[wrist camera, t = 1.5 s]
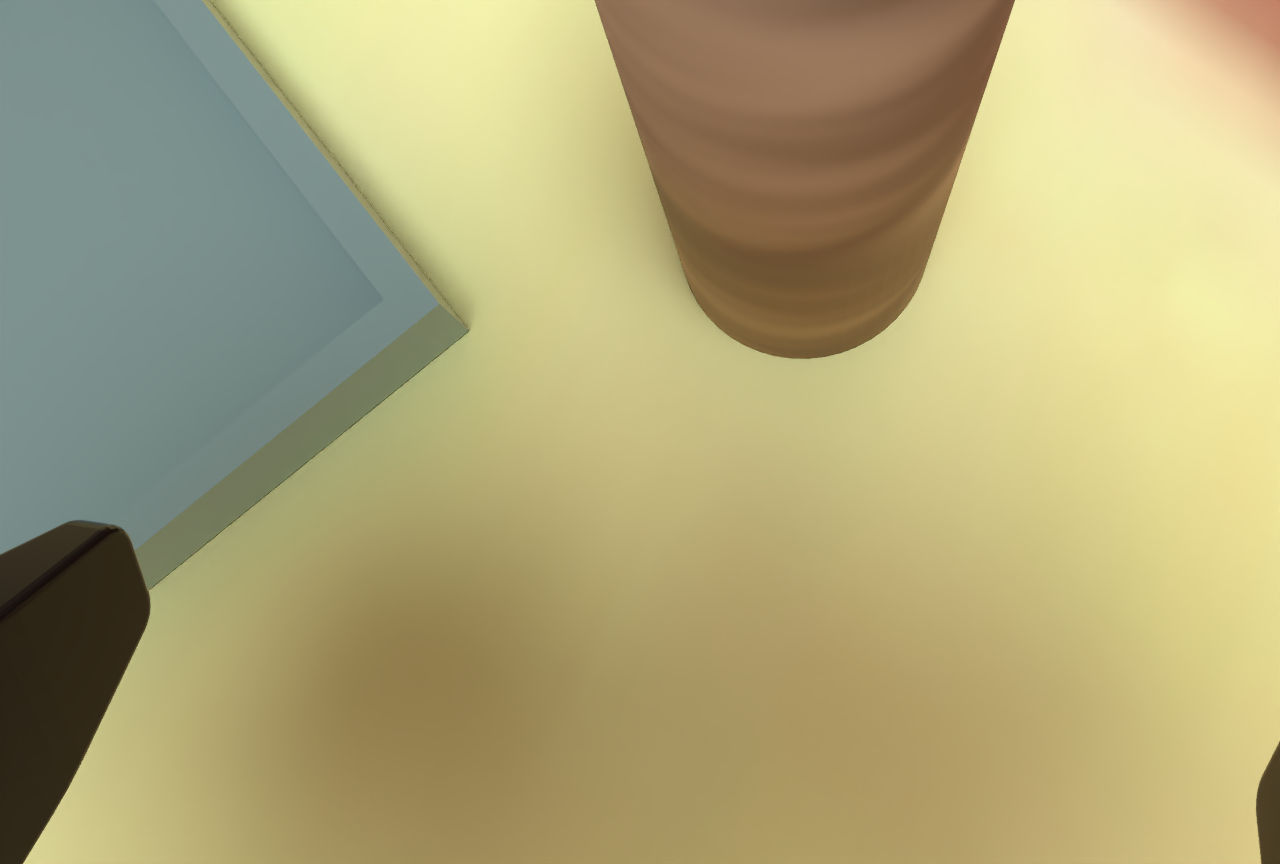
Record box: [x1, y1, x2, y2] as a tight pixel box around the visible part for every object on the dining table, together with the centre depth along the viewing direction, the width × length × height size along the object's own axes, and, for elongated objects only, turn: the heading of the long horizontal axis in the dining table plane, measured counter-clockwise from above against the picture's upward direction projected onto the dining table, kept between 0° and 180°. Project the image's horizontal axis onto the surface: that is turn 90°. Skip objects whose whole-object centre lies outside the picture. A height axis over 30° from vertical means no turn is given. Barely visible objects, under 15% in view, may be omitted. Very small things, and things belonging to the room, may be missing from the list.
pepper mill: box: [595, 0, 1015, 359], centre depth 17 cm, size 5×5×13 cm
